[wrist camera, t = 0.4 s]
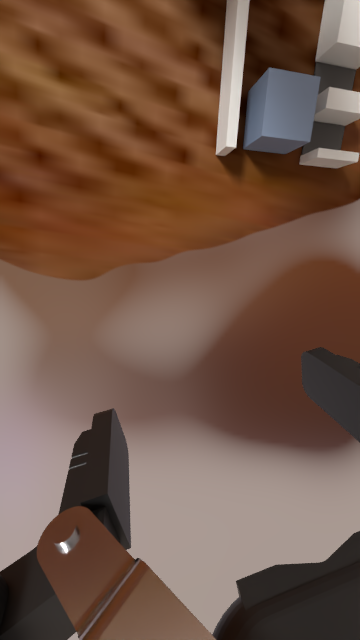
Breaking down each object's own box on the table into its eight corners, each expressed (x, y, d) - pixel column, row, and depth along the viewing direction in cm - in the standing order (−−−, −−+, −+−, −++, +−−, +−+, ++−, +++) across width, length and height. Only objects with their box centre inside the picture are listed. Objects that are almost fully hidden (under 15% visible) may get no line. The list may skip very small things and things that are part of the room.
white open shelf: (231, -70, 27) (247, -112, 24) (374, -27, 30) (404, -59, 27) (215, 155, 33) (226, 146, 30) (336, 168, 36) (357, 162, 33)
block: (247, 92, 32) (269, 67, 27) (292, 99, 33) (320, 76, 28) (242, 149, 33) (261, 135, 29) (285, 154, 35) (310, 142, 30)
